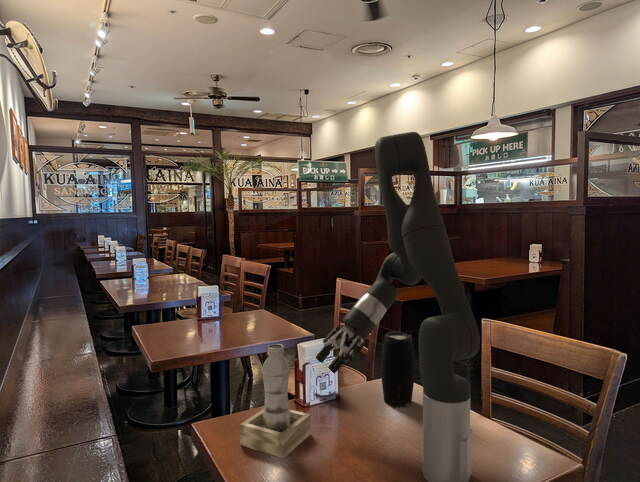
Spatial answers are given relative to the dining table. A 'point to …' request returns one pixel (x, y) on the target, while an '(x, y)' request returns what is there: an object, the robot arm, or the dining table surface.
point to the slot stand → (274, 434)
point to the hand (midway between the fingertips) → (324, 365)
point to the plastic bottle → (276, 389)
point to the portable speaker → (397, 368)
